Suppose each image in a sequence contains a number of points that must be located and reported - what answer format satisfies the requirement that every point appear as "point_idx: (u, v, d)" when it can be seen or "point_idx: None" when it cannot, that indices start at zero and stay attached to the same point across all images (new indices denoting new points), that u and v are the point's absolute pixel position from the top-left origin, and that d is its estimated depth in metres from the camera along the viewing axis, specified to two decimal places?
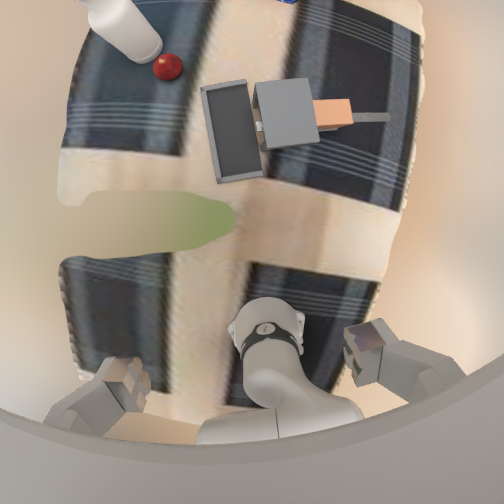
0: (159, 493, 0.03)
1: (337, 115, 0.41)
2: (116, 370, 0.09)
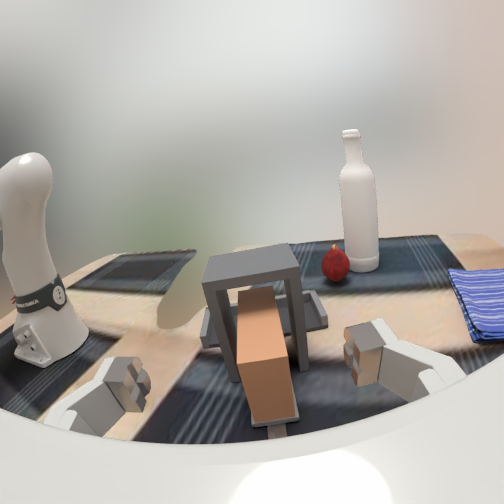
0: (159, 493, 0.03)
1: (253, 343, 0.25)
2: (116, 370, 0.09)
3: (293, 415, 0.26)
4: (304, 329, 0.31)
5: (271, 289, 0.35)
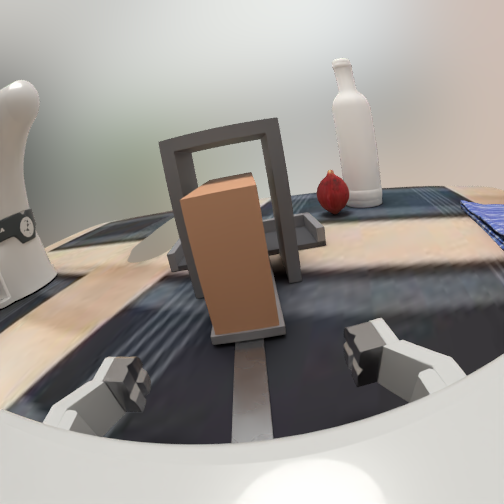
0: (159, 493, 0.03)
1: (211, 189, 0.18)
2: (116, 370, 0.09)
3: (275, 323, 0.18)
4: (290, 209, 0.24)
5: (249, 173, 0.28)
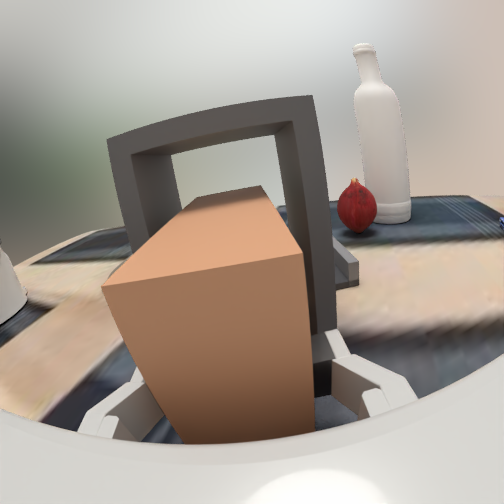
0: (159, 493, 0.03)
1: (185, 240, 0.08)
2: None
3: None
4: (330, 255, 0.14)
5: (258, 187, 0.18)
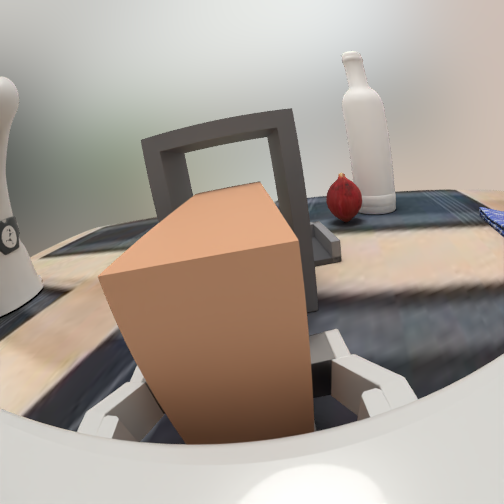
0: (159, 493, 0.03)
1: (182, 232, 0.08)
2: None
3: None
4: (307, 225, 0.19)
5: (257, 183, 0.18)
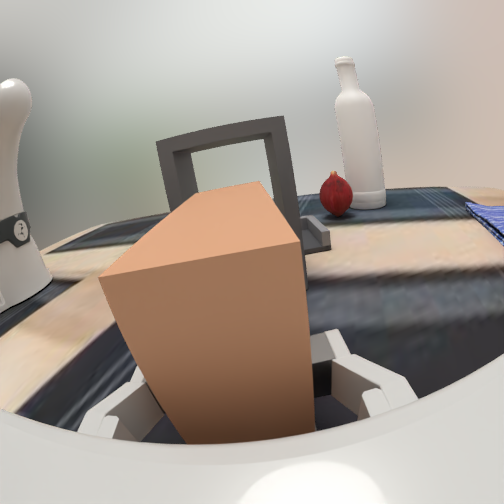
0: (159, 493, 0.03)
1: (183, 232, 0.08)
2: None
3: None
4: (297, 214, 0.22)
5: (256, 182, 0.18)
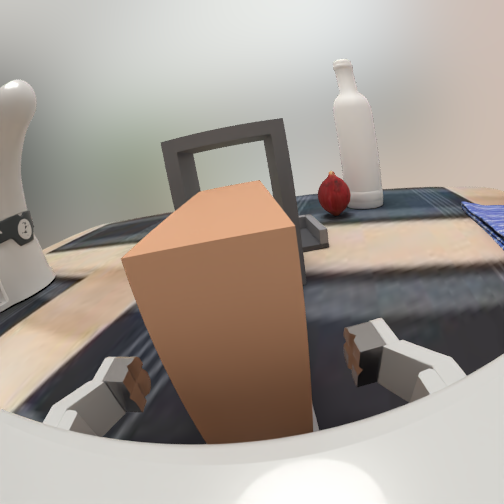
0: (159, 493, 0.03)
1: (193, 222, 0.09)
2: (116, 370, 0.09)
3: None
4: (295, 211, 0.24)
5: (257, 181, 0.19)
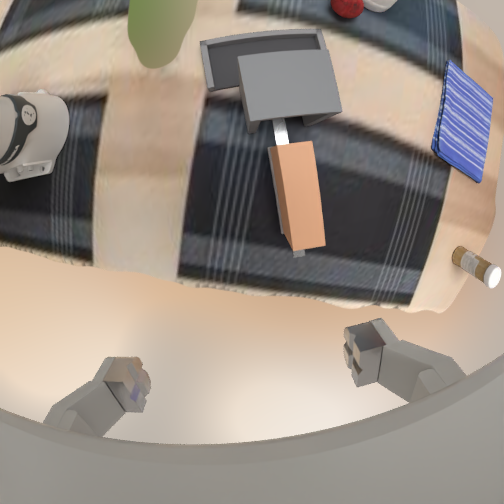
0: (159, 493, 0.03)
1: (302, 230, 0.36)
2: (116, 370, 0.09)
3: None
4: (321, 120, 0.34)
5: (311, 148, 0.32)
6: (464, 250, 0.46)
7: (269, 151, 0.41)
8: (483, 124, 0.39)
